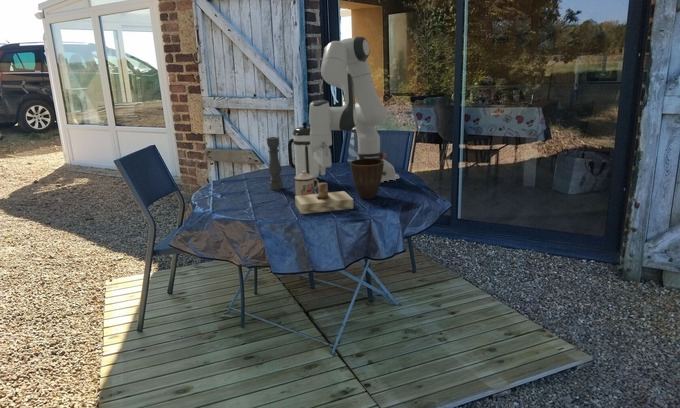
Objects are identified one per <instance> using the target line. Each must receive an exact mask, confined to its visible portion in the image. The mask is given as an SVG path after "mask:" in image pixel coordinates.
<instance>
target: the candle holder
mask: <svg viewBox="0 0 680 408" xmlns="http://www.w3.org/2000/svg"><path fill="white" fill-rule="evenodd" d="M266 145H267V147H268V153H269V165H268V173H269V174H270V176H271V177H270V179H269V189H270V190H272V191H279V190H283V189H284V186H283V181H282V180H283V179H282V177H281V176H280V175H281V172H282V166H281V164H280V160H279V152H280V150H279V145H280V139H279V136H267V137H266Z"/></svg>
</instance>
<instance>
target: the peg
mask: <svg viewBox="0 0 680 408" xmlns="http://www.w3.org/2000/svg"><path fill="white" fill-rule="evenodd" d="M317 189H318V191H317V192H318V193H317V194H318V195H319V200H322V199H328V193H329V189H328V183H327V182H319V183H318V187H317Z"/></svg>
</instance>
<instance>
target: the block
mask: <svg viewBox="0 0 680 408" xmlns="http://www.w3.org/2000/svg"><path fill="white" fill-rule="evenodd" d="M294 200H295V201H294V202H295V205H294V206H295V207H296V208H297V209H298V211H299V213H300V214H301V215H305V214H315V213H323V212H331V211H332V212H333V211H341V210H343V211H344V210H350V209H351V210H352V209H354V198H352V197H351V196H350V194H348V193H347V192H346V191H345V190H342V191H332V192H328V199H322V200H319V195H318V193H314V194H310V195H300V196H296V195H295V196H294Z"/></svg>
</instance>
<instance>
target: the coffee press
mask: <svg viewBox="0 0 680 408" xmlns="http://www.w3.org/2000/svg"><path fill="white" fill-rule="evenodd" d="M307 125H308V123H307V122H306V121H303V122H302V126H299V127H296V128H295V129H294V130H293V131H292V137H293V138H291V139H289V141H288V143H287V144H288V145H287V153H288V156H287V157H288V162H289V166H290V167H291V168H293V169H294V170H295V171H294V173H295V176H298V175H299V174H301V173H302V171H306V173H308V174H309V175H313V176H314V179H317V178H318V179H319V180H322V179H323V177H322V176H323V175H321V174H320V173H319V166H318V163H317V162H316V161H315V160H314V159H313V156H312V148H311V145H310V130H311V128H310V126H307ZM292 144H293V147H292ZM292 148H293V150H292ZM293 154H294V155H293ZM293 156H294V162H293ZM295 176H294V177H293V178H292V179H293V181H294V182H295V180H294V178H295ZM319 176H320V177H319Z"/></svg>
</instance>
